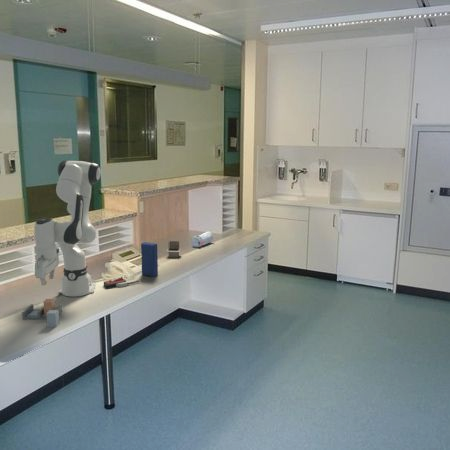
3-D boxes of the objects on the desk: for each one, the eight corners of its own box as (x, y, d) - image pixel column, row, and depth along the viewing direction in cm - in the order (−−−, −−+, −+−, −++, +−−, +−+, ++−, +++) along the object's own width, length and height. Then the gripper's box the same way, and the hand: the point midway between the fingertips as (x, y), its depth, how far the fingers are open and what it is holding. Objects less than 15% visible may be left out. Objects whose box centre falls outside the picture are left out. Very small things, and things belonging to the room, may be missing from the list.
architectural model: (188, 254, 333) (188, 239, 331) (185, 260, 317) (185, 245, 315) (162, 253, 334) (162, 239, 332) (159, 260, 317) (158, 244, 315)
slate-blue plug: (50, 323, 211) (49, 309, 210) (59, 323, 211) (58, 310, 210) (47, 326, 207) (46, 313, 206) (56, 326, 207) (55, 313, 206)
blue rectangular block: (158, 274, 284) (158, 243, 280) (153, 277, 279) (153, 245, 275) (146, 272, 288) (145, 241, 284) (141, 274, 283) (140, 243, 279)
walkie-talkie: (107, 290, 256) (140, 284, 267) (107, 283, 255) (139, 276, 267) (101, 286, 263) (133, 280, 274) (101, 279, 262) (133, 273, 273)
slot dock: (31, 311, 224) (31, 304, 224) (62, 311, 225) (61, 304, 224) (22, 319, 215) (22, 312, 214) (54, 319, 215) (54, 312, 214)
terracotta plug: (47, 311, 221) (46, 298, 220) (55, 311, 221) (54, 298, 220) (44, 314, 217) (43, 301, 216) (52, 314, 217) (51, 301, 216)
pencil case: (199, 248, 349) (199, 236, 347) (190, 247, 353) (190, 235, 351) (214, 243, 367) (214, 231, 365) (204, 241, 371) (204, 230, 369)
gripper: (44, 259, 202) (46, 289, 205) (60, 247, 222) (62, 275, 225) (29, 259, 202) (32, 288, 205) (47, 247, 222) (49, 275, 225)
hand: (47, 281), depth 215 cm, fingers open, 8 cm apart
